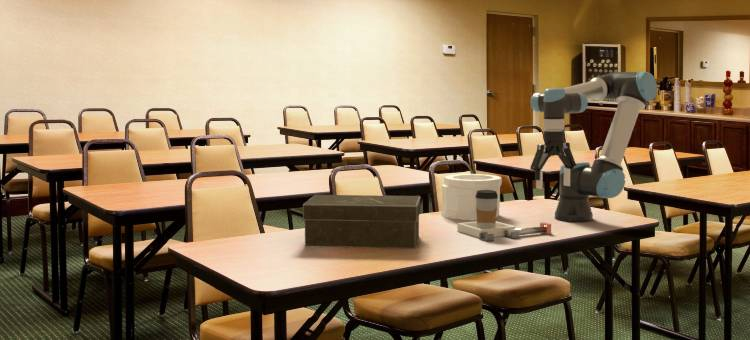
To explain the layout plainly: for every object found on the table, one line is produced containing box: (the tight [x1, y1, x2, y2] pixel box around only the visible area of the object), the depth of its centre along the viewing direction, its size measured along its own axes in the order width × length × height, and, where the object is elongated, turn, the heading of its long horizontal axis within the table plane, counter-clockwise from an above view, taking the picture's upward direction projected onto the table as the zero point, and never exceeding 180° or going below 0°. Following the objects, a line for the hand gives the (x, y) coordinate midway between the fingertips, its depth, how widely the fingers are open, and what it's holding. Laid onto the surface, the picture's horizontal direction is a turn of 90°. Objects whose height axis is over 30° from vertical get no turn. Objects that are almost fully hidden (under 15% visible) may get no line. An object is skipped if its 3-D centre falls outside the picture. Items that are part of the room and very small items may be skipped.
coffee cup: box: [475, 190, 498, 229], centre depth 294 cm, size 8×8×15 cm
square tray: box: [456, 220, 517, 239], centre depth 295 cm, size 15×15×3 cm
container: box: [440, 173, 503, 221], centre depth 333 cm, size 25×24×16 cm
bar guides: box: [478, 229, 520, 242], centre depth 284 cm, size 14×5×2 cm, turn 117°
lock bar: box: [506, 222, 552, 238], centre depth 290 cm, size 18×4×4 cm, turn 117°
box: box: [302, 194, 422, 249], centre depth 280 cm, size 22×39×15 cm, turn 84°
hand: (553, 187), depth 295 cm, fingers open, 13 cm apart
